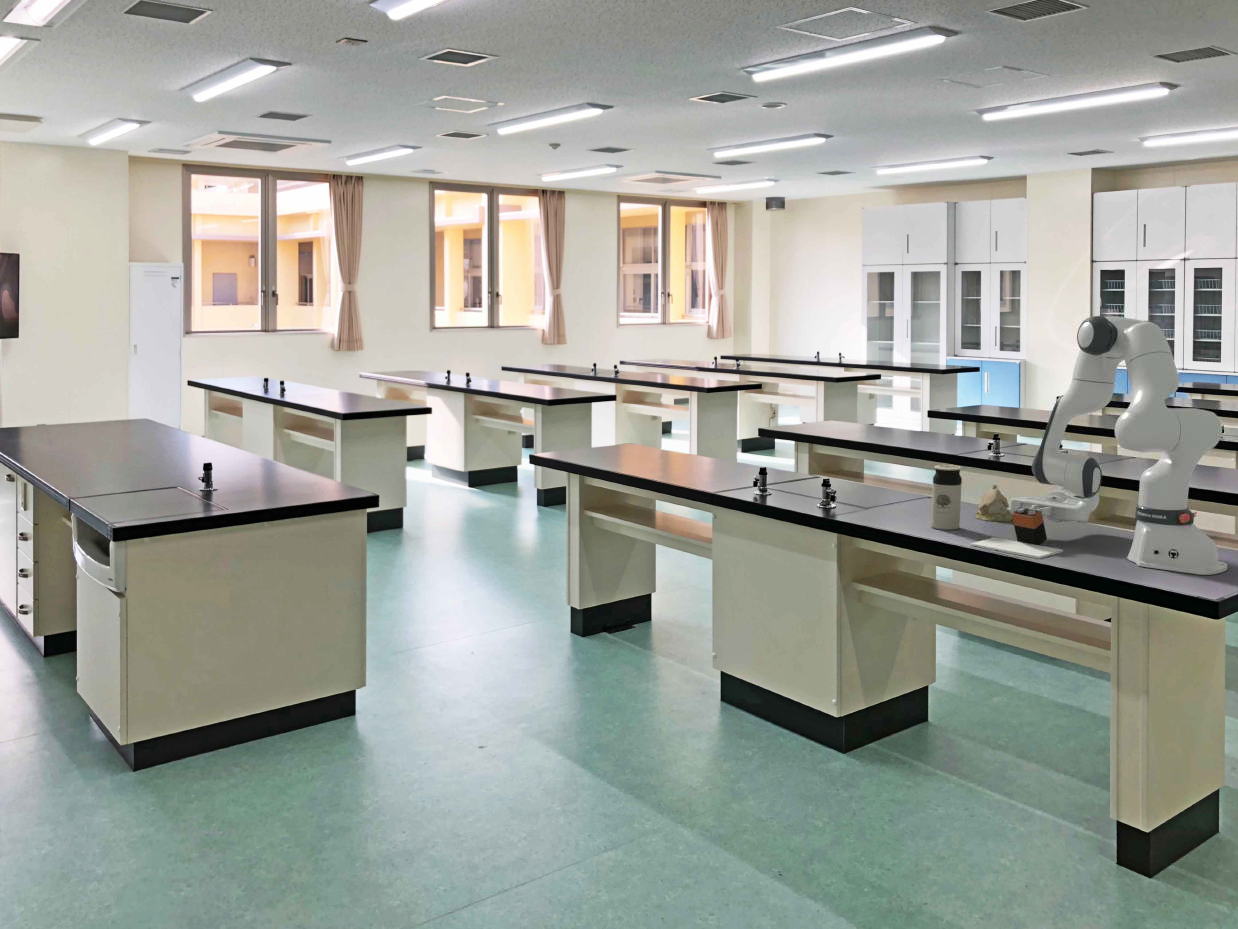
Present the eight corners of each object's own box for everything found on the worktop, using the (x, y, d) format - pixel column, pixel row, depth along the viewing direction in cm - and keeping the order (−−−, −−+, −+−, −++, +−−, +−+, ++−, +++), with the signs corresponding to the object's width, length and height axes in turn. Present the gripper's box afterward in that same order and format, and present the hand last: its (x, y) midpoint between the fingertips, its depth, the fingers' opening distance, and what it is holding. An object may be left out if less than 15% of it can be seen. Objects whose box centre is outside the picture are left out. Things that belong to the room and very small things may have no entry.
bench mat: (1062, 552, 289) (1062, 549, 289) (1039, 558, 282) (1039, 556, 282) (994, 539, 305) (994, 537, 304) (970, 545, 297) (970, 543, 297)
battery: (1026, 535, 302) (1019, 503, 299) (1048, 539, 297) (1041, 507, 293) (1016, 542, 300) (1009, 511, 297) (1038, 547, 295) (1031, 515, 291)
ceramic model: (1016, 522, 329) (1018, 489, 327) (977, 521, 330) (979, 488, 329) (1007, 513, 342) (1009, 481, 341) (970, 512, 344) (972, 481, 343)
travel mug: (939, 523, 326) (942, 463, 323) (964, 527, 320) (967, 466, 318) (925, 527, 320) (928, 466, 318) (950, 531, 315) (953, 469, 312)
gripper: (1025, 489, 313) (999, 495, 304) (1095, 499, 298) (1069, 505, 289) (1024, 511, 314) (998, 517, 305) (1093, 522, 299) (1068, 529, 290)
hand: (1033, 511), depth 297 cm, fingers closed
